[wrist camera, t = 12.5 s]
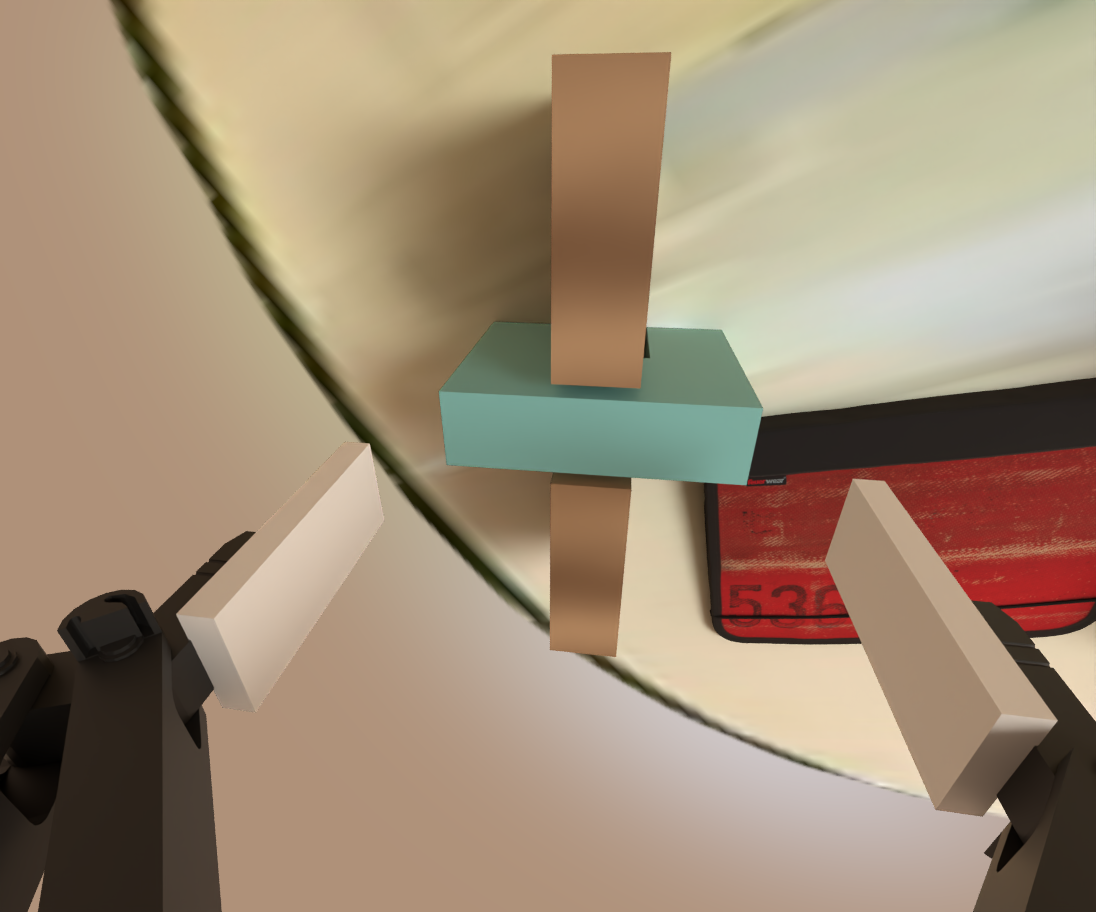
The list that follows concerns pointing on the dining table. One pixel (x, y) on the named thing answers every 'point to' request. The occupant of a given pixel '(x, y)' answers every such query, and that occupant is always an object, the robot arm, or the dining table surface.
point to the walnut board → (599, 308)
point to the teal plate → (603, 410)
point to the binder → (914, 508)
